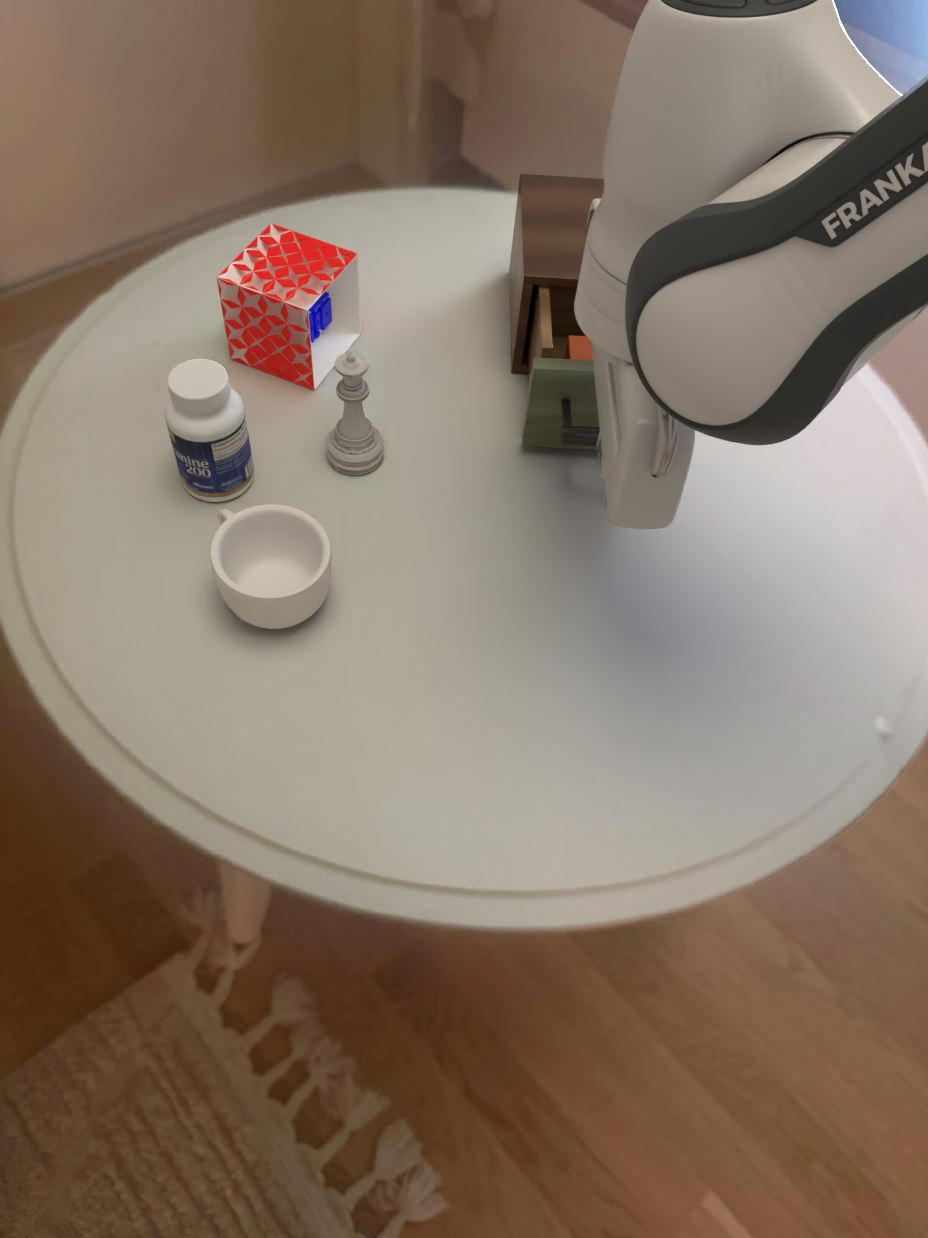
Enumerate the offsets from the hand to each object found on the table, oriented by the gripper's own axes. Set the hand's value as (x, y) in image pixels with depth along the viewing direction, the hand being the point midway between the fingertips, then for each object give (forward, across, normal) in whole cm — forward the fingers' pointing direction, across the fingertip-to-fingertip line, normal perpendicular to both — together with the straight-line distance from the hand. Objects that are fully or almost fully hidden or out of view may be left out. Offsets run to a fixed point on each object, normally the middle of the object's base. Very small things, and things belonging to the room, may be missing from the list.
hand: (610, 464), depth 66 cm
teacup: (+8, -6, +23) cm, 25 cm away
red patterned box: (+8, +19, +24) cm, 31 cm away
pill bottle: (+8, +4, +28) cm, 29 cm away
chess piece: (+8, +7, +18) cm, 21 cm away
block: (+6, +13, 0) cm, 14 cm away
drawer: (+7, +12, 0) cm, 14 cm away
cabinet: (+8, +24, 0) cm, 25 cm away
